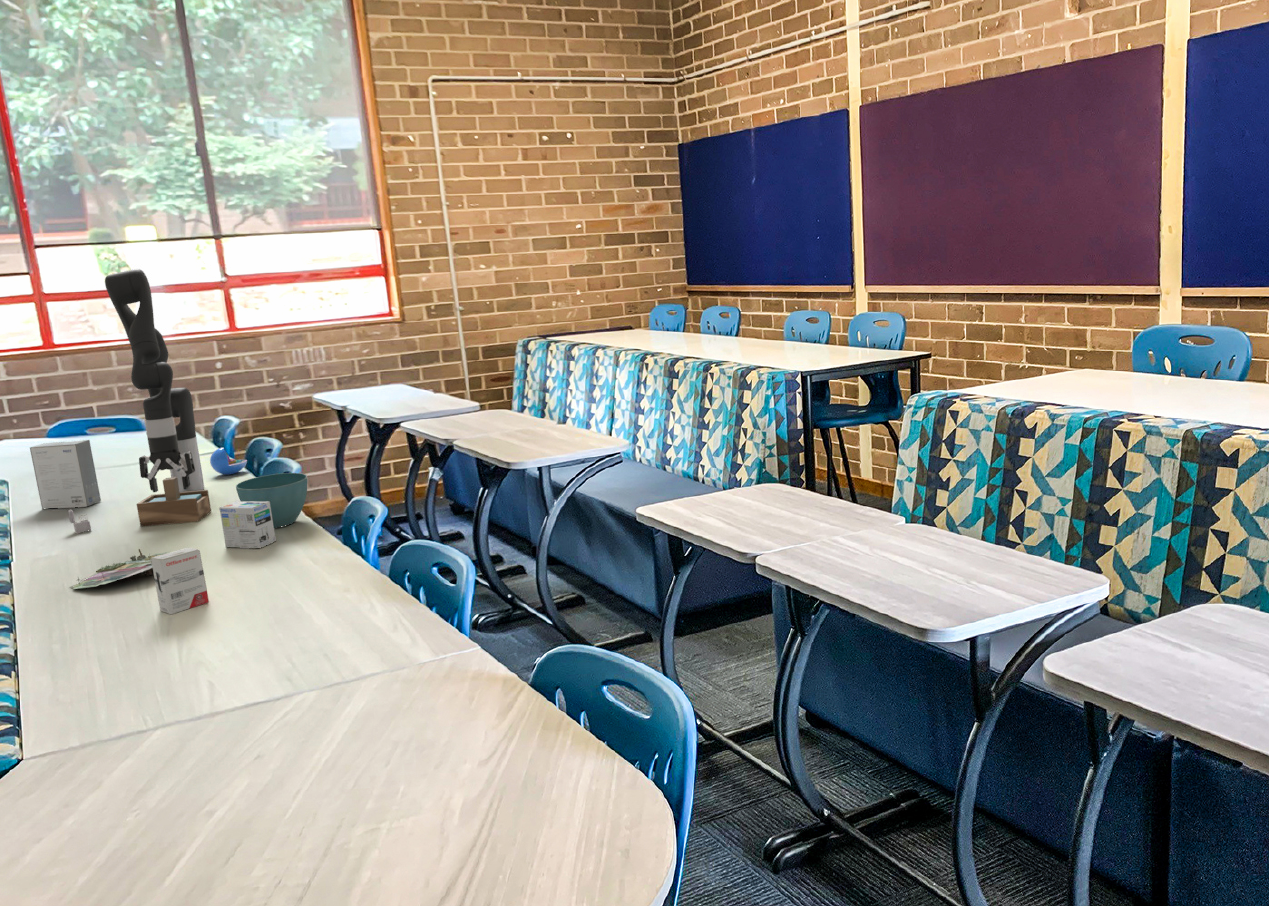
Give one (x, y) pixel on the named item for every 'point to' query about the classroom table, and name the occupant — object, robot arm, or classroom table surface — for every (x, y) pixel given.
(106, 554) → the classroom table surface
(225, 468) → the cell model
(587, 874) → the classroom table surface
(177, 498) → the lid
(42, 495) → the hard drive box
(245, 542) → the light bulb box
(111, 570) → the city model
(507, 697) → the classroom table surface
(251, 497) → the plant pot
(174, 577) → the ink box
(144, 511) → the brown wooden shelf box
